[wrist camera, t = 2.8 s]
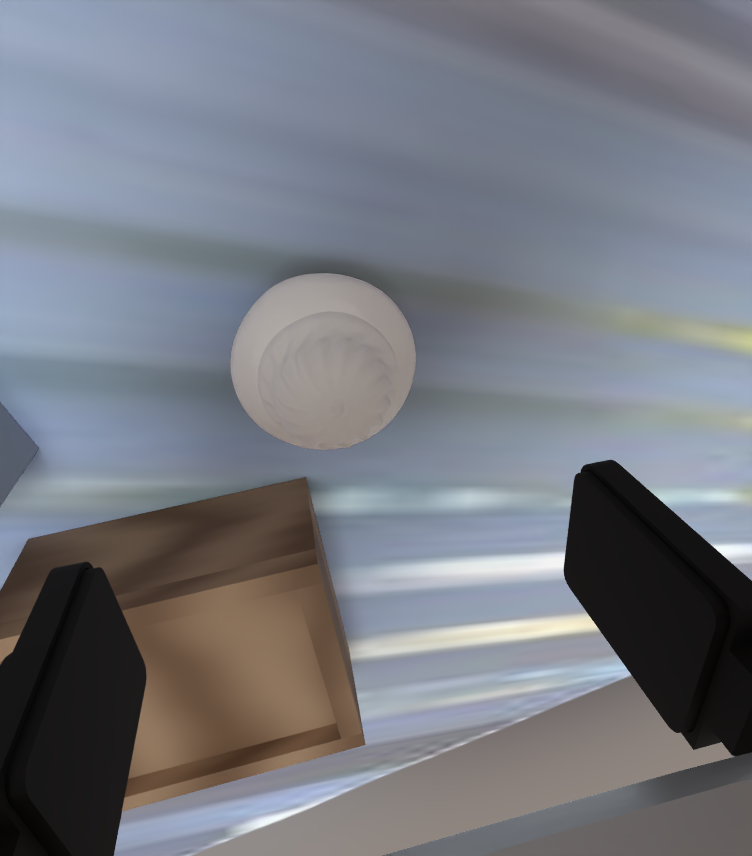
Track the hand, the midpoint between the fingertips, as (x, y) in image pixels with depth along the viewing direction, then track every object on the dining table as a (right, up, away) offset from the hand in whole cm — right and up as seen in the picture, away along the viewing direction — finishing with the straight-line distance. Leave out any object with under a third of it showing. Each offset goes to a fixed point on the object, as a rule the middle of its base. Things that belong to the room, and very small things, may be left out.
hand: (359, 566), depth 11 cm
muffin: (-2, +7, +10) cm, 12 cm away
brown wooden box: (-8, -6, +16) cm, 19 cm away
